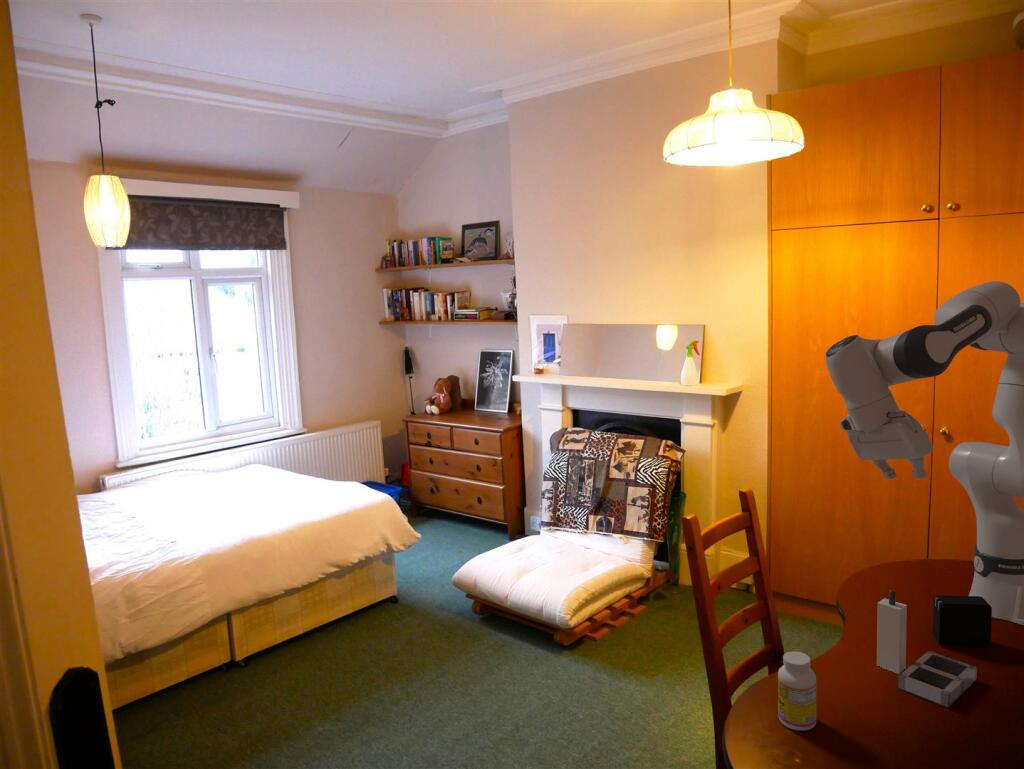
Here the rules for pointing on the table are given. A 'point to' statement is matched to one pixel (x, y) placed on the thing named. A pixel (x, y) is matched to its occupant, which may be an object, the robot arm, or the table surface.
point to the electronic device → (962, 621)
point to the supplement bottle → (797, 692)
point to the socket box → (937, 679)
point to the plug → (891, 634)
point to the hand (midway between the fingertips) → (906, 478)
